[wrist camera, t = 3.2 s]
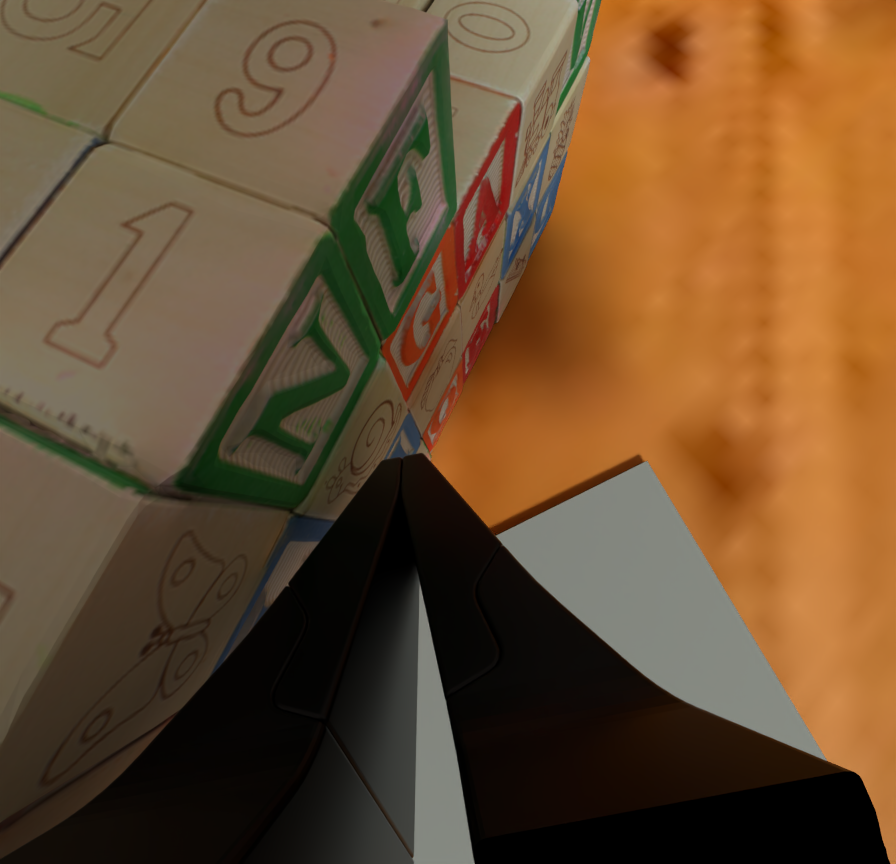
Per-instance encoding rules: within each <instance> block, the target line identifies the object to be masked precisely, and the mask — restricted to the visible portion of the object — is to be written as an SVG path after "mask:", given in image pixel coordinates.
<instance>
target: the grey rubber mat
mask: <svg viewBox="0 0 896 864" xmlns="http://www.w3.org/2000/svg"><path fill="white" fill-rule="evenodd" d="M496 537H497V538H498V539H499V540H500V541H501V543H502V544H503V546H505V547H506V548H507V549H508V550H509V551H510V553H511V554H512V555H513V556H514V557H515V558H516V559H517V560H518V562H519V563H520V564H521V565H522V566H523V567H524V568H525V569H526V570H527V571H528V572H529V573H530V574H531V575H532V576H533V577H534V578H535V580H536V581H537V582H539V583H540V584H541V585H542V586H543V587H544V588H545V589H546V590H547V591H548V592H549V593H550V594H552V595H553V596H554V597H555V598H556V599H557V600H558V601H559V602H560V603H561V604H562V605H564V606H565V607H566V608H567V609H568V610H569V611H570V612H572V613H573V614H574V615H575V616H576V617H577V618H579V619H580V620H581V621H582V622H583V623H584V624H585V625H587V626H588V627H589V628H590V629H591V630H592V631H593V632H595V633H596V634H597V635H598V636H599V637H600V638H602V639H603V640H604V641H605V642H606V643H607V644H608V645H610V646H611V647H612V648H613V649H614V650H615V651H616V652H618V653H619V654H620V655H621V656H622V657H623V658H625V659H626V660H627V661H628V662H629V663H630V664H631V665H633V666H634V667H635V668H636V669H637V670H639V671H640V672H641V673H642V674H643V675H645V676H646V677H647V678H649V679H650V680H652V681H653V682H654V683H656V684H657V685H658V686H660V687H662V688H663V689H665V690H666V691H668V692H669V693H671V694H673V695H674V696H676V697H678V698H680V699H682V700H684V701H685V702H687V703H690V704H692V705H694V706H696V707H698V708H701V709H703V710H706V711H708V712H710V713H713V714H715V715H718V716H720V717H722V718H725V719H727V720H730V721H732V722H734V723H737V724H739V725H742V726H744V727H746V728H749V729H751V730H754V731H756V732H758V733H761V734H763V735H766V736H768V737H771V738H773V739H775V740H778V741H780V742H783V743H785V744H787V745H790V746H792V747H795V748H797V749H799V750H802V751H804V752H807V753H809V754H811V755H814V756H816V757H819V758H821V759H823V760H826V758H825V756H824V755H823V753H822V751H821V750H820V748H819V746H818V745H817V743H816V741H815V740H814V738H813V736H812V735H811V733H810V731H809V730H808V728H807V726H806V725H805V723H804V721H803V720H802V718H801V716H800V715H799V713H798V711H797V710H796V708H795V706H794V705H793V703H792V701H791V700H790V698H789V697H788V695H787V693H786V692H785V690H784V688H783V687H782V685H781V683H780V682H779V680H778V678H777V677H776V675H775V673H774V672H773V670H772V668H771V667H770V665H769V663H768V662H767V660H766V658H765V657H764V655H763V653H762V652H761V650H760V648H759V647H758V645H757V643H756V642H755V640H754V638H753V637H752V635H751V633H750V632H749V630H748V628H747V627H746V625H745V623H744V622H743V620H742V618H741V617H740V615H739V613H738V612H737V610H736V608H735V607H734V605H733V603H732V602H731V600H730V598H729V597H728V595H727V593H726V592H725V590H724V588H723V587H722V585H721V583H720V582H719V580H718V578H717V577H716V575H715V573H714V572H713V570H712V568H711V567H710V565H709V563H708V562H707V560H706V558H705V557H704V555H703V553H702V552H701V550H700V548H699V547H698V545H697V543H696V542H695V540H694V538H693V537H692V535H691V533H690V532H689V530H688V528H687V527H686V525H685V523H684V522H683V520H682V518H681V517H680V515H679V513H678V512H677V510H676V508H675V507H674V505H673V503H672V502H671V500H670V498H669V497H668V495H667V493H666V492H665V490H664V488H663V487H662V485H661V483H660V482H659V480H658V478H657V477H656V475H655V473H654V472H653V470H652V468H651V467H650V465H649V463H648V462H647V461H646V462H643V463H641V464H639V465H637V466H635V467H633V468H631V469H629V470H627V471H625V472H623V473H621V474H619V475H617V476H615V477H613V478H611V479H609V480H607V481H605V482H603V483H601V484H599V485H597V486H595V487H593V488H591V489H589V490H587V491H585V492H583V493H581V494H579V495H576V496H574V497H572V498H570V499H568V500H566V501H564V502H562V503H560V504H558V505H556V506H554V507H552V508H550V509H548V510H546V511H544V512H542V513H540V514H538V515H536V516H534V517H532V518H530V519H528V520H526V521H524V522H522V523H520V524H518V525H516V526H514V527H512V528H510V529H508V530H506V531H504V532H502V533H500V534H498V535H496ZM826 761H827V760H826ZM412 859H413V861H414V864H475V863H474V859H473V853H472V847H471V841H470V835H469V829H468V823H467V817H466V811H465V804H464V798H463V792H462V786H461V780H460V774H459V768H458V762H457V756H456V751H455V746H454V740H453V735H452V730H451V725H450V721H449V716H448V711H447V706H446V701H445V697H444V692H443V688H442V683H441V679H440V674H439V669H438V665H437V660H436V655H435V651H434V646H433V642H432V637H431V632H430V628H429V623H428V618H427V614H426V609H425V605H424V600H423V595H422V591H421V586H420V589H419V638H418V686H417V734H416V783H415V831H414V857H413V858H412Z"/></svg>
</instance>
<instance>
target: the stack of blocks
mask: <svg viewBox="0 0 896 864" xmlns="http://www.w3.org/2000/svg"><path fill="white" fill-rule="evenodd" d="M600 4H601V0H0V859H1V858H3V857H4V856H6V855H8V854H9V853H11V852H13V851H14V850H16V849H18V848H19V847H21V846H23V845H24V844H26V843H28V842H29V841H31V840H33V839H34V838H36V837H38V836H39V835H41V834H43V833H44V832H46V831H48V830H49V829H51V828H53V827H54V826H56V825H57V824H59V823H61V822H62V821H64V820H65V819H67V818H68V817H69V816H71V815H72V814H74V813H75V812H76V811H78V810H79V809H81V808H82V807H83V806H85V805H86V804H87V803H89V802H90V801H91V800H92V799H93V798H95V797H96V796H97V795H98V794H100V793H101V792H102V791H103V790H104V789H105V788H106V787H108V786H109V785H110V784H111V783H112V782H113V781H114V780H115V779H116V778H117V777H118V776H119V775H120V774H122V773H123V772H124V771H125V769H126V768H127V767H128V766H129V765H130V764H131V763H132V762H133V761H134V760H135V759H136V758H137V757H138V756H139V755H140V754H141V753H142V751H143V750H144V749H145V748H146V747H147V746H148V745H149V744H150V743H151V742H152V740H153V739H154V738H155V737H156V736H157V735H158V734H159V733H160V732H161V730H162V729H163V728H164V727H165V726H166V725H167V724H168V723H169V722H170V721H171V719H172V718H173V717H174V716H175V715H176V714H177V713H178V712H179V711H180V709H181V708H182V707H183V706H184V705H185V704H186V703H187V702H188V701H189V699H190V698H191V697H192V696H193V695H194V694H195V693H196V692H197V691H198V690H199V688H200V687H201V686H202V685H203V684H204V683H205V682H206V681H207V680H208V678H209V677H210V676H211V675H212V674H213V673H214V672H215V671H216V670H217V669H218V667H219V666H220V665H221V664H222V663H223V662H224V661H225V659H226V658H227V657H228V656H229V655H230V654H231V652H232V651H233V650H234V649H235V648H236V647H237V646H238V644H239V643H240V642H241V641H242V640H243V639H244V638H245V636H246V635H247V634H248V633H249V632H250V630H251V629H252V628H253V627H254V625H255V624H256V623H257V622H258V620H259V619H260V618H261V617H262V615H263V614H264V613H265V612H266V610H267V609H268V608H269V607H270V605H271V604H272V603H273V602H274V600H275V599H276V598H277V596H278V595H279V594H280V592H281V591H282V590H283V589H284V587H285V586H289V585H288V582H289V581H290V580H291V578H292V577H293V576H294V574H295V573H296V572H297V570H298V569H299V568H300V567H301V565H302V564H303V563H304V561H305V560H306V559H307V557H308V556H309V555H310V553H311V552H312V551H313V550H314V548H315V547H316V546H317V544H318V543H319V542H320V540H321V539H322V538H323V536H324V535H325V534H326V532H327V531H328V530H329V529H330V527H331V526H332V525H333V523H334V522H335V521H336V519H337V518H338V517H339V515H340V514H341V513H342V512H343V510H344V509H345V508H346V506H347V505H348V504H349V502H350V501H351V500H352V498H353V497H354V496H355V494H356V493H357V492H358V491H359V489H360V488H361V487H362V485H363V484H364V483H365V481H366V480H367V479H368V477H369V476H370V475H371V474H372V472H373V471H374V470H375V468H376V467H377V466H378V464H379V463H380V462H381V461H382V460H385V459H390V458H396V457H401V458H402V459H403V457H404V456H407V455H412V454H417V453H423V454H425V455H426V457H427V458H428V459H429V460H430V461H431V452H432V449H433V448H434V446H435V445H436V443H437V441H438V438H439V436H440V434H441V432H442V430H443V428H444V426H445V424H446V422H447V420H448V418H449V416H450V414H451V412H452V410H453V408H454V406H455V404H456V402H457V400H458V398H459V396H460V394H461V392H462V390H463V384H464V383H465V381H466V379H467V377H468V375H469V373H470V371H471V369H472V367H473V365H474V363H475V361H476V359H477V357H478V355H479V353H480V351H481V349H482V347H483V345H484V343H485V341H486V339H487V337H488V335H489V333H490V331H491V329H492V327H493V324H494V323H497V322H498V321H499V320H500V318H501V316H502V314H503V312H504V310H505V308H506V306H507V304H508V302H509V300H510V298H511V296H512V294H513V292H514V290H515V288H516V286H517V284H518V282H519V280H520V278H521V276H522V274H523V272H524V270H525V268H526V266H527V261H528V260H529V258H530V256H531V254H532V252H533V250H534V248H535V246H536V244H537V242H538V240H539V238H540V236H541V234H542V232H543V230H544V228H545V226H546V224H547V222H548V220H549V218H550V216H551V213H552V210H553V207H554V204H555V199H556V195H557V190H558V186H559V183H560V179H561V175H562V170H563V167H564V163H565V160H566V156H567V149H568V147H569V145H570V142H571V138H572V134H573V130H574V126H575V122H576V118H577V114H578V110H579V106H580V102H581V97H582V93H583V89H584V85H585V82H586V78H587V74H588V69H589V64H590V58H589V57H588V56H587V54H588V51H589V48H590V44H591V41H592V36H593V31H594V27H595V24H596V20H597V16H598V12H599V8H600Z"/></svg>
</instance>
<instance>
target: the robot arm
mask: <svg viewBox="0 0 896 864" xmlns="http://www.w3.org/2000/svg"><path fill="white" fill-rule="evenodd" d="M288 585H289V586H285V587H284V589H283V590H282V591H281V592H280V594H279V595H278V596H277V598H276V599H275V600H274V602H273V603H272V604H271V605H270V607H269V608H268V609H267V610H266V612H265V613H264V614H263V615H262V617H261V618H260V619H259V620H258V622H257V623H256V624H255V625H254V627H253V628H252V629H251V630H250V632H249V633H248V634H247V635H246V636H245V638H244V639H243V640H242V641H241V642H240V643H239V644H238V646H237V647H236V648H235V649H234V650H233V651H232V652H231V654H230V655H229V656H228V657H227V658H226V659H225V661H224V662H223V663H222V664H221V665H220V666H219V667H218V669H217V670H216V671H215V672H214V673H213V674H212V675H211V676H210V677H209V678H208V680H207V681H206V682H205V683H204V684H203V685H202V686H201V687H200V688H199V690H198V691H197V692H196V693H195V694H194V695H193V696H192V697H191V698H190V699H189V701H188V702H187V703H186V704H185V705H184V706H183V707H182V708H181V709H180V711H179V712H178V713H177V714H176V715H175V716H174V717H173V718H172V719H171V721H170V722H169V723H168V724H167V725H166V726H165V727H164V728H163V729H162V730H161V732H160V733H159V734H158V735H157V736H156V737H155V738H154V739H153V740H152V742H151V743H150V744H149V745H148V746H147V747H146V748H145V749H144V750H143V751H142V753H141V754H140V755H139V756H138V757H137V758H136V759H135V760H134V761H133V762H132V763H131V764H130V765H129V766H128V767H127V768H126V769H125V771H124V772H123V773H122V774H120V775H119V776H118V777H117V778H116V779H115V780H114V781H113V782H112V783H111V784H110V785H109V786H108V787H106V788H105V789H104V790H103V791H102V792H101V793H100V794H98V795H97V796H96V797H95V798H93V799H92V800H91V801H90V802H89V803H87V804H86V805H85V806H83V807H82V808H81V809H79V810H78V811H76V812H75V813H74V814H72V815H71V816H69V817H68V818H67V819H65V820H64V821H62V822H61V823H59V824H57V825H56V826H54V827H53V828H51V829H49V830H48V831H46V832H44V833H43V834H41V835H39V836H38V837H36V838H34V839H33V840H31V841H29V842H28V843H26V844H24V845H23V846H21V847H19V848H18V849H16V850H14V851H13V852H11V853H9V854H8V855H6V856H4V857H3V858H1V859H0V864H414V861H413V859H412V858H413V857H414V831H415V783H416V734H417V686H418V638H419V589H420V586H421V591H422V595H423V600H424V605H425V609H426V614H427V618H428V623H429V628H430V632H431V637H432V642H433V646H434V651H435V655H436V660H437V665H438V669H439V674H440V679H441V683H442V688H443V692H444V697H445V701H446V706H447V711H448V716H449V721H450V725H451V730H452V735H453V740H454V746H455V751H456V756H457V762H458V768H459V774H460V780H461V786H462V792H463V798H464V804H465V811H466V817H467V823H468V829H469V835H470V841H471V847H472V853H473V859H474V863H475V864H890V862H889V859H888V856H887V852H886V848H885V846H884V843H883V840H882V836H881V832H880V827H879V822H878V819H877V815H876V811H875V808H874V806H873V804H872V802H871V799H870V797H869V795H868V792H867V790H866V788H865V786H864V783H863V781H862V779H861V778H860V776H859V775H858V774H856V773H855V772H852V771H850V770H847V769H845V768H843V767H840V766H838V765H835V764H833V763H831V762H828V761H826V760H823V759H821V758H819V757H816V756H814V755H811V754H809V753H807V752H804V751H802V750H799V749H797V748H795V747H792V746H790V745H787V744H785V743H783V742H780V741H778V740H775V739H773V738H771V737H768V736H766V735H763V734H761V733H758V732H756V731H754V730H751V729H749V728H746V727H744V726H742V725H739V724H737V723H734V722H732V721H730V720H727V719H725V718H722V717H720V716H718V715H715V714H713V713H710V712H708V711H706V710H703V709H701V708H698V707H696V706H694V705H692V704H690V703H687V702H685V701H684V700H682V699H680V698H678V697H676V696H674V695H673V694H671V693H669V692H668V691H666V690H665V689H663V688H662V687H660V686H658V685H657V684H656V683H654V682H653V681H652V680H650V679H649V678H647V677H646V676H645V675H643V674H642V673H641V672H640V671H639V670H637V669H636V668H635V667H634V666H633V665H631V664H630V663H629V662H628V661H627V660H626V659H625V658H623V657H622V656H621V655H620V654H619V653H618V652H616V651H615V650H614V649H613V648H612V647H611V646H610V645H608V644H607V643H606V642H605V641H604V640H603V639H602V638H600V637H599V636H598V635H597V634H596V633H595V632H593V631H592V630H591V629H590V628H589V627H588V626H587V625H585V624H584V623H583V622H582V621H581V620H580V619H579V618H577V617H576V616H575V615H574V614H573V613H572V612H570V611H569V610H568V609H567V608H566V607H565V606H564V605H562V604H561V603H560V602H559V601H558V600H557V599H556V598H555V597H554V596H553V595H552V594H550V593H549V592H548V591H547V590H546V589H545V588H544V587H543V586H542V585H541V584H540V583H539V582H537V581H536V580H535V578H534V577H533V576H532V575H531V574H530V573H529V572H528V571H527V570H526V569H525V568H524V567H523V566H522V565H521V564H520V563H519V562H518V560H517V559H516V558H515V557H514V556H513V555H512V554H511V553H510V551H509V550H508V549H507V548H506V547H505V546H503V544H502V543H501V541H500V540H499V539H498V538H497V537H496V536H495V535H494V533H493V532H492V531H491V530H490V529H489V528H488V526H487V525H486V524H485V523H484V522H483V521H482V520H481V518H480V517H479V516H478V515H477V514H476V513H475V512H474V510H473V509H472V508H471V507H470V506H469V505H468V504H467V502H466V501H465V500H464V499H463V498H462V497H461V496H460V494H459V493H458V492H457V491H456V490H455V489H454V488H453V486H452V485H451V484H450V483H449V482H448V481H447V480H446V478H445V477H444V476H443V475H442V474H441V473H440V472H439V470H438V469H437V468H436V467H435V466H434V465H433V463H432V462H431V461H430V460H429V459H428V458H427V457H426V455H425V454H423V453H417V454H412V455H407V456H404V457H403V459H402V458H401V457H396V458H390V459H385V460H382V461H381V462H380V463H379V464H378V466H377V467H376V468H375V470H374V471H373V472H372V474H371V475H370V476H369V477H368V479H367V480H366V481H365V483H364V484H363V485H362V487H361V488H360V489H359V491H358V492H357V493H356V494H355V496H354V497H353V498H352V500H351V501H350V502H349V504H348V505H347V506H346V508H345V509H344V510H343V512H342V513H341V514H340V515H339V517H338V518H337V519H336V521H335V522H334V523H333V525H332V526H331V527H330V529H329V530H328V531H327V532H326V534H325V535H324V536H323V538H322V539H321V540H320V542H319V543H318V544H317V546H316V547H315V548H314V550H313V551H312V552H311V553H310V555H309V556H308V557H307V559H306V560H305V561H304V563H303V564H302V565H301V567H300V568H299V569H298V570H297V572H296V573H295V574H294V576H293V577H292V578H291V580H290V581H289V582H288Z"/></svg>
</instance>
